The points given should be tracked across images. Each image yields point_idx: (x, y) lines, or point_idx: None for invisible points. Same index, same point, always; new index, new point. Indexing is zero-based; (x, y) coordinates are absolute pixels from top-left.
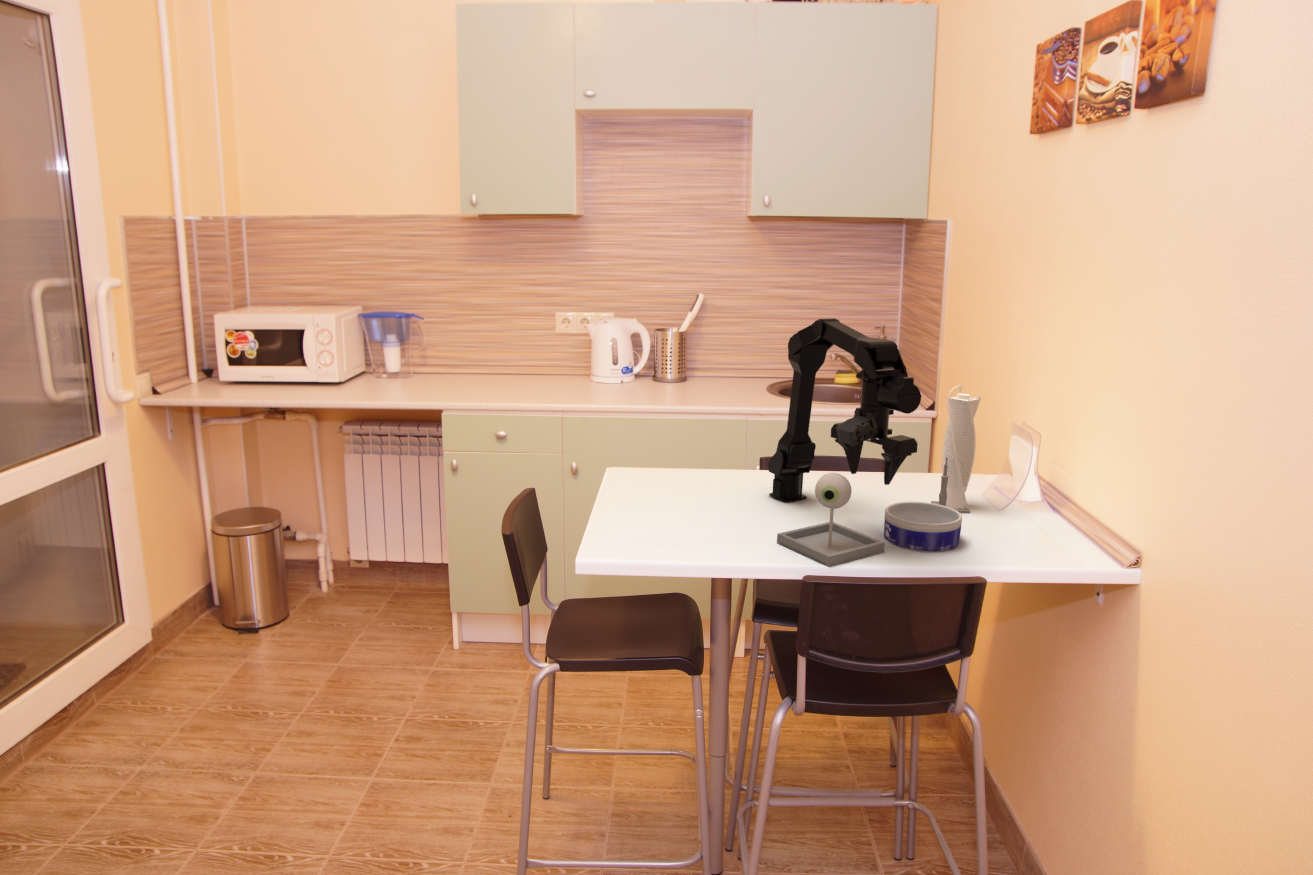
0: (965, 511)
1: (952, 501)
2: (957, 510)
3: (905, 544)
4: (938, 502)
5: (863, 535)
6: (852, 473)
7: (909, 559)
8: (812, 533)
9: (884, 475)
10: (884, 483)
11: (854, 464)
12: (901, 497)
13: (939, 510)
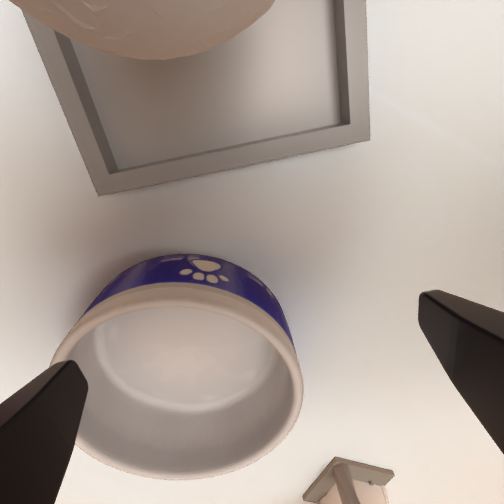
0: (307, 493)
1: (341, 502)
2: (318, 486)
3: (126, 271)
4: (379, 481)
5: (187, 166)
6: (421, 293)
7: (37, 225)
8: (335, 7)
9: (8, 418)
10: (67, 363)
11: (476, 365)
12: (458, 443)
13: (228, 452)
